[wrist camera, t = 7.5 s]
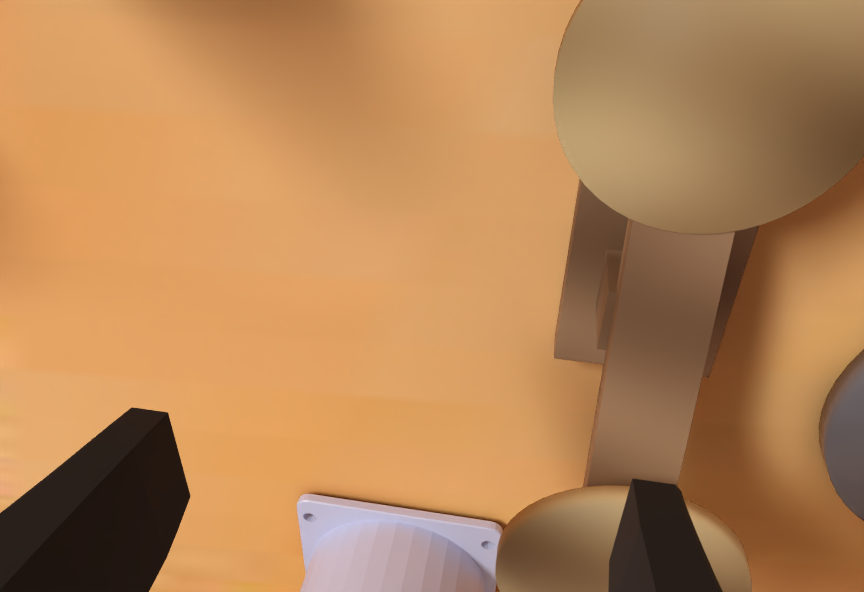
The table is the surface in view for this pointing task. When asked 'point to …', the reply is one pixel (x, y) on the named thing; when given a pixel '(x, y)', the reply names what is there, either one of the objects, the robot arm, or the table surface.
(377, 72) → the table surface
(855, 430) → the dish
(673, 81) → the balance
